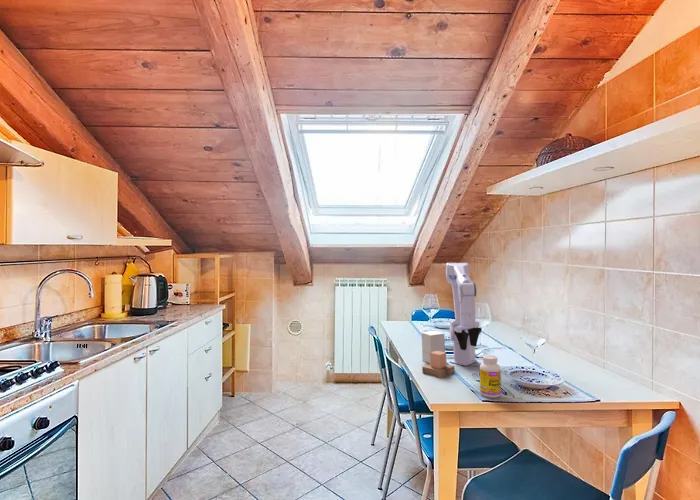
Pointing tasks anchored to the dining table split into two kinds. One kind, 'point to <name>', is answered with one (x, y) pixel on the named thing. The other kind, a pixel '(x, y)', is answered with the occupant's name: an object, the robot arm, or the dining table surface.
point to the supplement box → (432, 344)
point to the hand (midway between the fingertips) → (468, 347)
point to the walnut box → (438, 370)
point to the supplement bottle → (490, 377)
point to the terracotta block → (438, 359)
